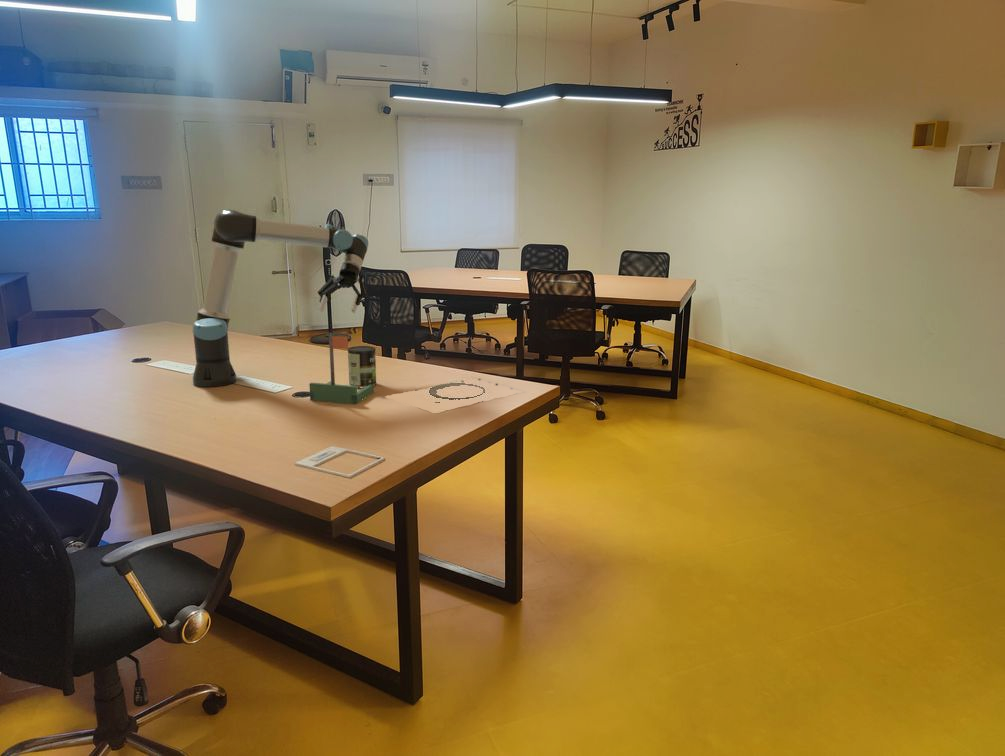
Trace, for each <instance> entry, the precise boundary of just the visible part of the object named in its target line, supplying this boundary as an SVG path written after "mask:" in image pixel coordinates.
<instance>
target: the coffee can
mask: <svg viewBox="0 0 1005 756" xmlns="http://www.w3.org/2000/svg"><path fill="white" fill-rule="evenodd" d="M346 350H347V359H348V361H347V362H348V380H349V381H348V385H350V386H357V387H366V386H368V385H370V384H373V385H375V384H376V385H377V371H376V370H377V366H376V365H377V364H376V363H377V362H376V361H377V360H376V347H374V346H370V345H369V346H368V345H357V346H356V345H355V346H351V347H348V349H346ZM376 385H375V386H376Z"/></svg>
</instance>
